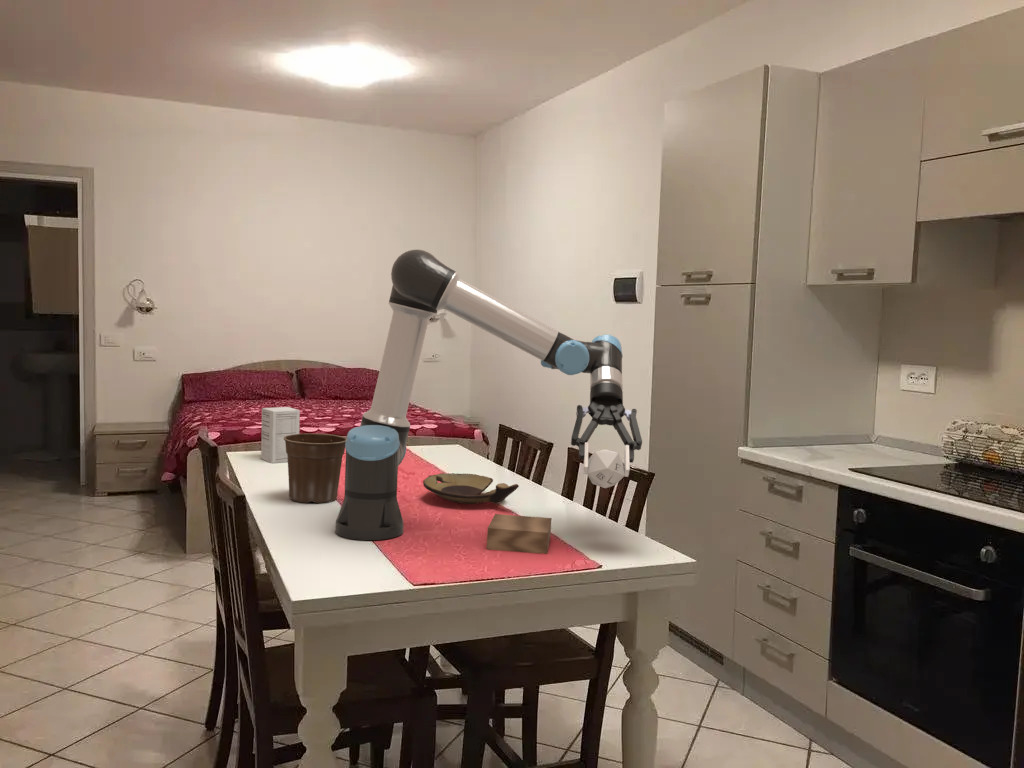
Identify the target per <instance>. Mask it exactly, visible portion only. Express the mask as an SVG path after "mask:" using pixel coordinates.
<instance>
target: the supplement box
mask: <svg viewBox="0 0 1024 768" xmlns="http://www.w3.org/2000/svg"><path fill="white" fill-rule="evenodd" d="M300 412H301V411H300V409H297V408H293V407H290V406H279V407H277V406H276V407H263V408H261V446H260V447H261V448H260V449H261V450H260V453H261V455H260V459H261V460H263V461H265V462H268V463H271V464H278V463H288V457H287V453H286V444H285V440H284V437H285V436H287V435H293V434H300V418H301V417H300Z"/></svg>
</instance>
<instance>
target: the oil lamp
mask: <svg viewBox="0 0 1024 768" xmlns="http://www.w3.org/2000/svg"><path fill="white" fill-rule="evenodd" d="M493 482H494V479H493V478H492V477H488V476H485V475H479V474H474V473H453V472H452V473H449V472H448V473H437V474H433V475H428V477H426V478H424V480H423V481H422V484H423V487H424V488H425V489H426V490H427V491H430V493H432V494H434V495H436V496H438V497H440V498H442V499H444V500H446V501H450V502H452V503H456V504H465V505H475V504H476V505H477V504H483V503H492V504H499V503H501V502H503V501H504V500H505V499H506V498H508V497H509V496H510V495H511V494H513V493H514V492H515V491H517V489H518V488H519V487H520V485H519V484H518V483H515V484H512V485H508V484H507V483H505V482H500V483H498V484H496V485H495V488H494V489H491V490H490V491H486V489H488V488H489V487H490V485H492V483H493ZM483 492H484V493H483Z"/></svg>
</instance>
